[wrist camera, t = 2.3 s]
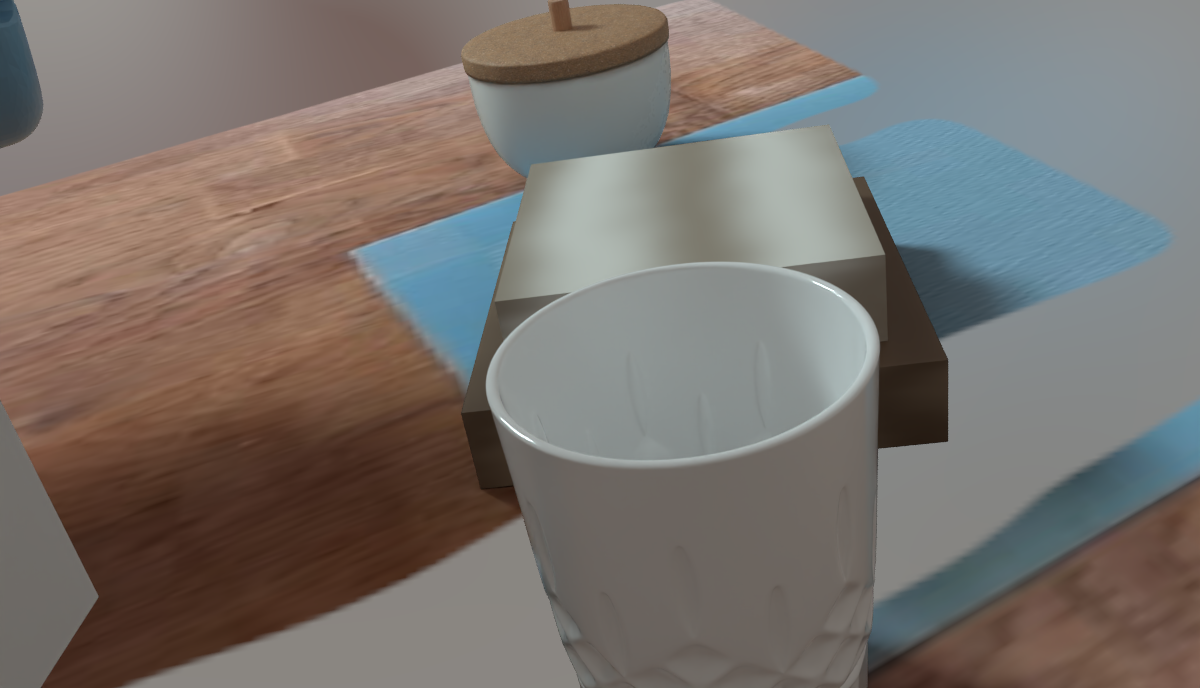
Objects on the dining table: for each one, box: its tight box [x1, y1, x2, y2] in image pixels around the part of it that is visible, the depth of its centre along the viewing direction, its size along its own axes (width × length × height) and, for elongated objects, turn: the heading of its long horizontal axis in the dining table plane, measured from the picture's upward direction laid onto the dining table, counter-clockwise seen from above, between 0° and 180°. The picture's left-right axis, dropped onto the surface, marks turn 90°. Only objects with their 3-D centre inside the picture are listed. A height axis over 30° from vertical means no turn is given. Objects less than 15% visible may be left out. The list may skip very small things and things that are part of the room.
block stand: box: [461, 125, 948, 489], centre depth 40 cm, size 15×15×6 cm
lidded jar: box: [461, 0, 671, 178], centre depth 57 cm, size 11×11×9 cm
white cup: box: [486, 262, 880, 688], centre depth 24 cm, size 8×8×10 cm
